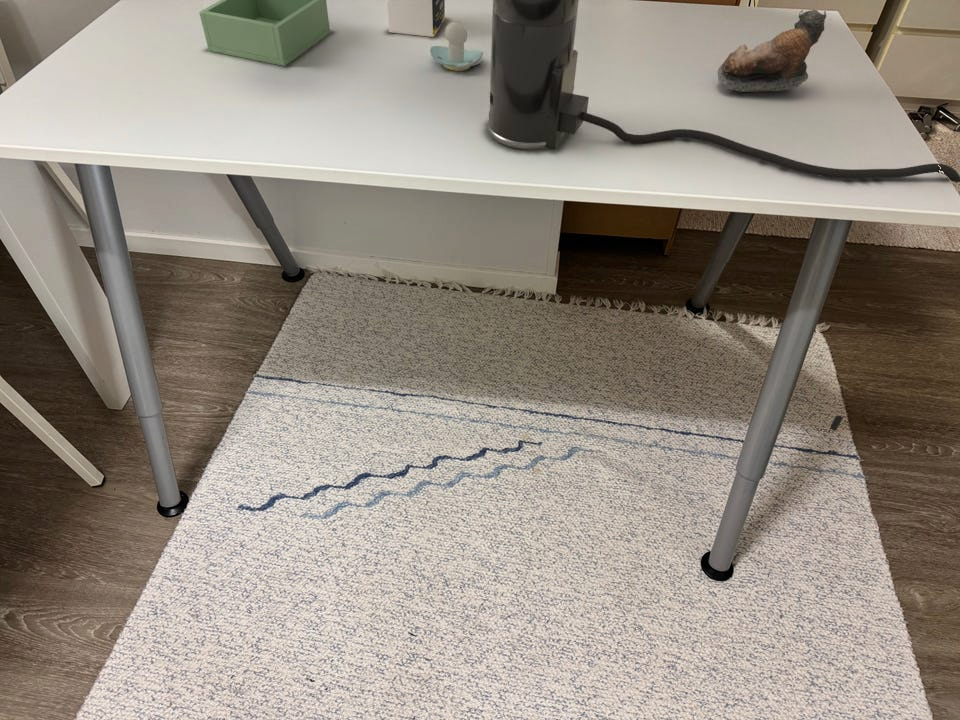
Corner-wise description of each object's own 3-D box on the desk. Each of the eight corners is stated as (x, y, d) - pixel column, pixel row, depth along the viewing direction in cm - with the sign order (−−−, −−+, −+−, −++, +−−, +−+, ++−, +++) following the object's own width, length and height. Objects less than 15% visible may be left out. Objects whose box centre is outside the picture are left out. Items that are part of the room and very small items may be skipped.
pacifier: (437, 54, 105) (427, 70, 100) (437, 8, 100) (426, 23, 96) (487, 59, 104) (479, 76, 99) (489, 13, 99) (480, 29, 95)
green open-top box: (330, 33, 109) (325, -5, 105) (284, 66, 101) (277, 27, 97) (258, 19, 112) (251, -18, 108) (208, 50, 104) (198, 11, 100)
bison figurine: (721, 100, 96) (743, 21, 89) (707, 76, 101) (726, 0, 94) (810, 100, 97) (838, 21, 89) (792, 76, 102) (817, 0, 94)
